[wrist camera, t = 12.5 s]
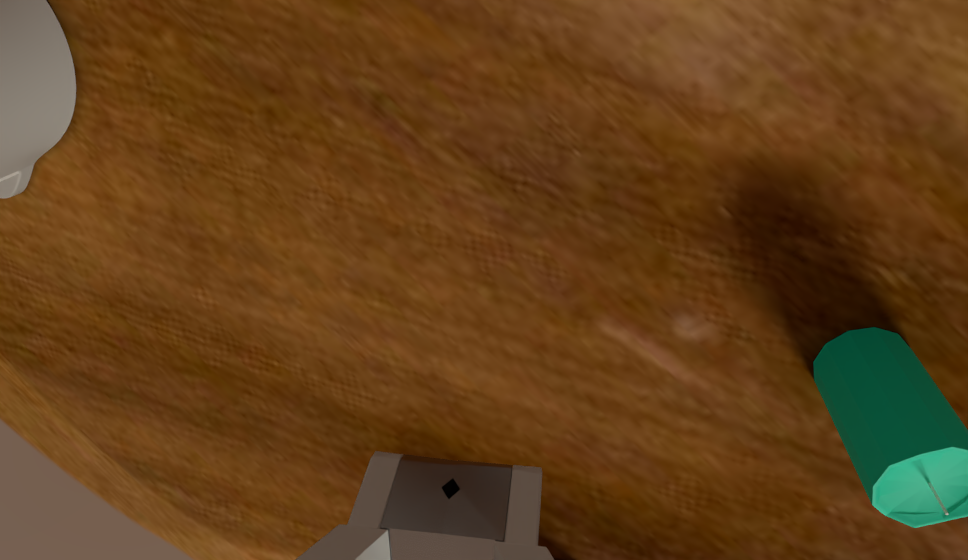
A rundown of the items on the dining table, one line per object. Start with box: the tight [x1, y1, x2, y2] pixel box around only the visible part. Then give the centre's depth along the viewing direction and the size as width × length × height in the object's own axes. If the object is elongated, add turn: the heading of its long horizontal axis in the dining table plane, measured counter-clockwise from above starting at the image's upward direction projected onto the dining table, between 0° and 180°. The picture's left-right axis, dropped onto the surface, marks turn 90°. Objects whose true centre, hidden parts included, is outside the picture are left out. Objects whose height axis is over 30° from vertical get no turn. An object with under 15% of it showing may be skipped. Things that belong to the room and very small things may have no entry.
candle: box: [813, 327, 968, 528], centre depth 39 cm, size 6×6×12 cm
